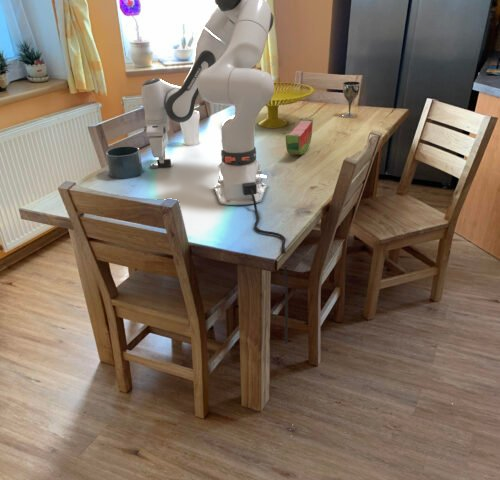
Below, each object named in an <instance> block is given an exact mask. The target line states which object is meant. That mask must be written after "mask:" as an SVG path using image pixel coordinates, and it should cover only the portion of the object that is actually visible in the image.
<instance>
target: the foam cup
mask: <svg viewBox="0 0 500 480" xmlns="http://www.w3.org/2000/svg"><path fill="white" fill-rule="evenodd" d="M200 119H201V116H200V111H199V110H195V109H194V111H193V114H192V116H191V118H190V119H189V120H187V121H185V122H179V126H180V131H181V134H182V138H183V143H184V146H188V147H189V146H196V145H198V144H199V143H200Z"/></svg>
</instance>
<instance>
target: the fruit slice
mask: <svg viewBox="0 0 500 480" xmlns="http://www.w3.org/2000/svg"><path fill="white" fill-rule="evenodd" d="M313 122H314V118H309V117H307V118H306V117H303V118H300V121H299V123H298V124H297V125H296V126H295V127H294V128H293V129H292V131H290V132H289V134H288V133H286V134H285V144H286V145H285V147H286V151H287V154H288V155H298V156H299V155H304V154H305V153H306V151H307V150H308V148H309V146H310V144H311V141H312V137H313V126H314V125H313V124H314V123H313Z"/></svg>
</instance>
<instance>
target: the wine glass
mask: <svg viewBox="0 0 500 480" xmlns="http://www.w3.org/2000/svg"><path fill="white" fill-rule="evenodd" d="M360 85H361V83H360V82H359V81H345V82H343V83H342V93H343V97H344V99H345V100H346V102H347V103H348V112H347V113H344V114H342V115H341V116H342V117H343V118H355V117H357V115H356V113H355V114H354V113H351V108H352V104H353V102H354V101H355V99H356V98H357V97H358V95H359V92H360V88H361V87H360Z"/></svg>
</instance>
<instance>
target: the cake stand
mask: <svg viewBox="0 0 500 480" xmlns="http://www.w3.org/2000/svg"><path fill="white" fill-rule="evenodd" d="M314 93H315V88H314V87H313V86H311V85H307V84H304V83H303V84H302V83H296V82H285V81H284V82H276V81H275V82H274V94H273V97H272V99H271V100H270V102H269V103H268V104H267V105H265V106H264V107H266V109H267V117H266V118H265V119H263V120H261V121H260V122H258V125H259V127H262V128H271V129H273V128H281V127H284V126H287V125H288V122H287V120H284V119H282V118H281V117H279V107H281V106H286V105H291V104H295V103H298V102H300V101H302V100H303V99H306V98H307V97H309V96H311V95H313V94H314Z"/></svg>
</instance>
